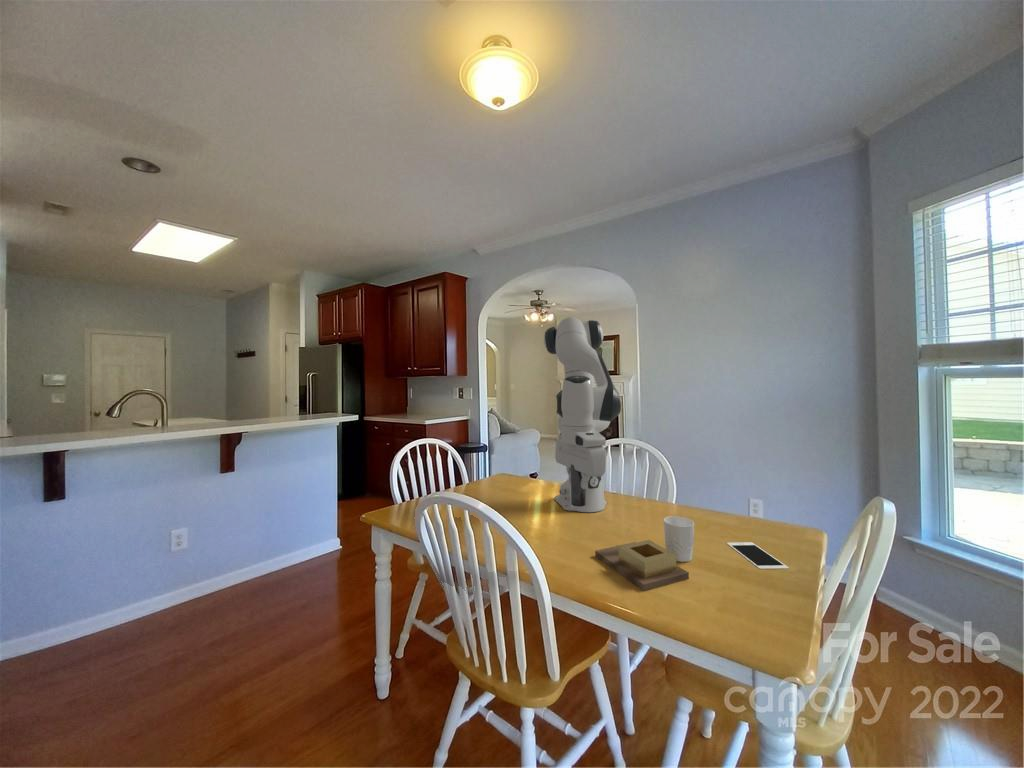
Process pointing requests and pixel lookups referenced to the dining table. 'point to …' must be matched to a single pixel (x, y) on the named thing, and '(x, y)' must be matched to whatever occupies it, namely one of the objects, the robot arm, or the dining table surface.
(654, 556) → the square brass washer
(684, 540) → the white cup
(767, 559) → the cell phone
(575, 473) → the steel pin
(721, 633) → the dining table surface
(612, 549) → the walnut board
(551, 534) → the dining table surface
